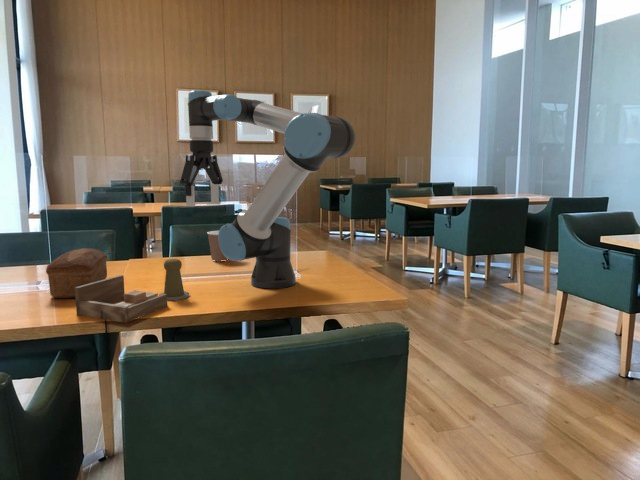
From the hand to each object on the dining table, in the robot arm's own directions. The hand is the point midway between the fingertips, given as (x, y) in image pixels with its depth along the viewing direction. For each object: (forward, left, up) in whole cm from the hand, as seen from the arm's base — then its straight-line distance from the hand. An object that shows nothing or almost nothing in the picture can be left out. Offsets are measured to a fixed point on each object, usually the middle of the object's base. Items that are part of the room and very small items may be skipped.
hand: (203, 204), depth 162 cm
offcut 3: (-3, +31, -27) cm, 41 cm away
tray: (+2, +36, -27) cm, 45 cm away
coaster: (-2, +19, -27) cm, 33 cm away
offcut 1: (-3, +40, -27) cm, 48 cm away
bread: (+32, +23, -27) cm, 48 cm away
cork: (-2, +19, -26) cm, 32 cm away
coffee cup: (+17, -34, -27) cm, 47 cm away
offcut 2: (-3, +36, -27) cm, 45 cm away
